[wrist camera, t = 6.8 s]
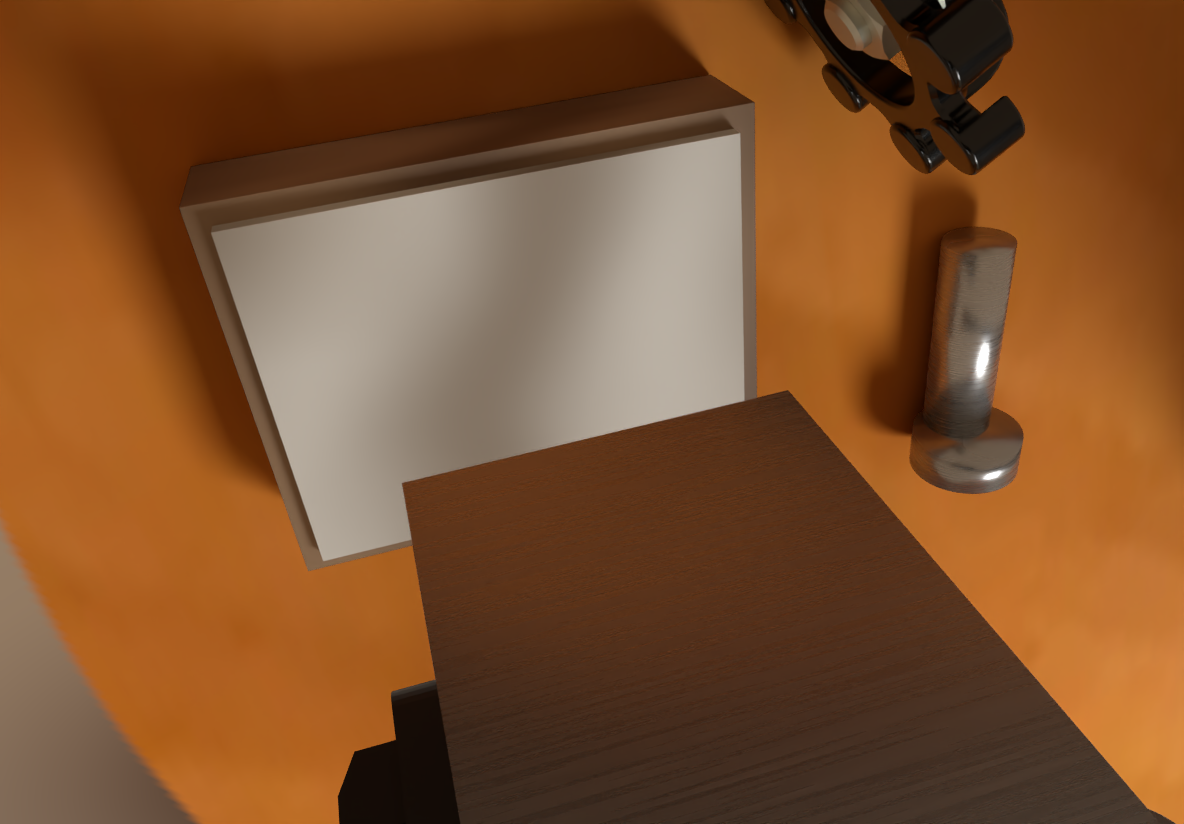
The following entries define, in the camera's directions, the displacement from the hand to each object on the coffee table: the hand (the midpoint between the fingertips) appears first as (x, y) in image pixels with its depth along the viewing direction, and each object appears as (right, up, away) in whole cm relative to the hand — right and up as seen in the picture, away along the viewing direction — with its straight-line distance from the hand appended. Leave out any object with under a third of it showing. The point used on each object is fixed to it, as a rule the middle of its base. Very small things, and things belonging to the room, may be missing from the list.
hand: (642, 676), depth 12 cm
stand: (-3, +5, +9) cm, 11 cm away
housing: (0, +1, +1) cm, 1 cm away
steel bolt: (+8, +5, +12) cm, 16 cm away
